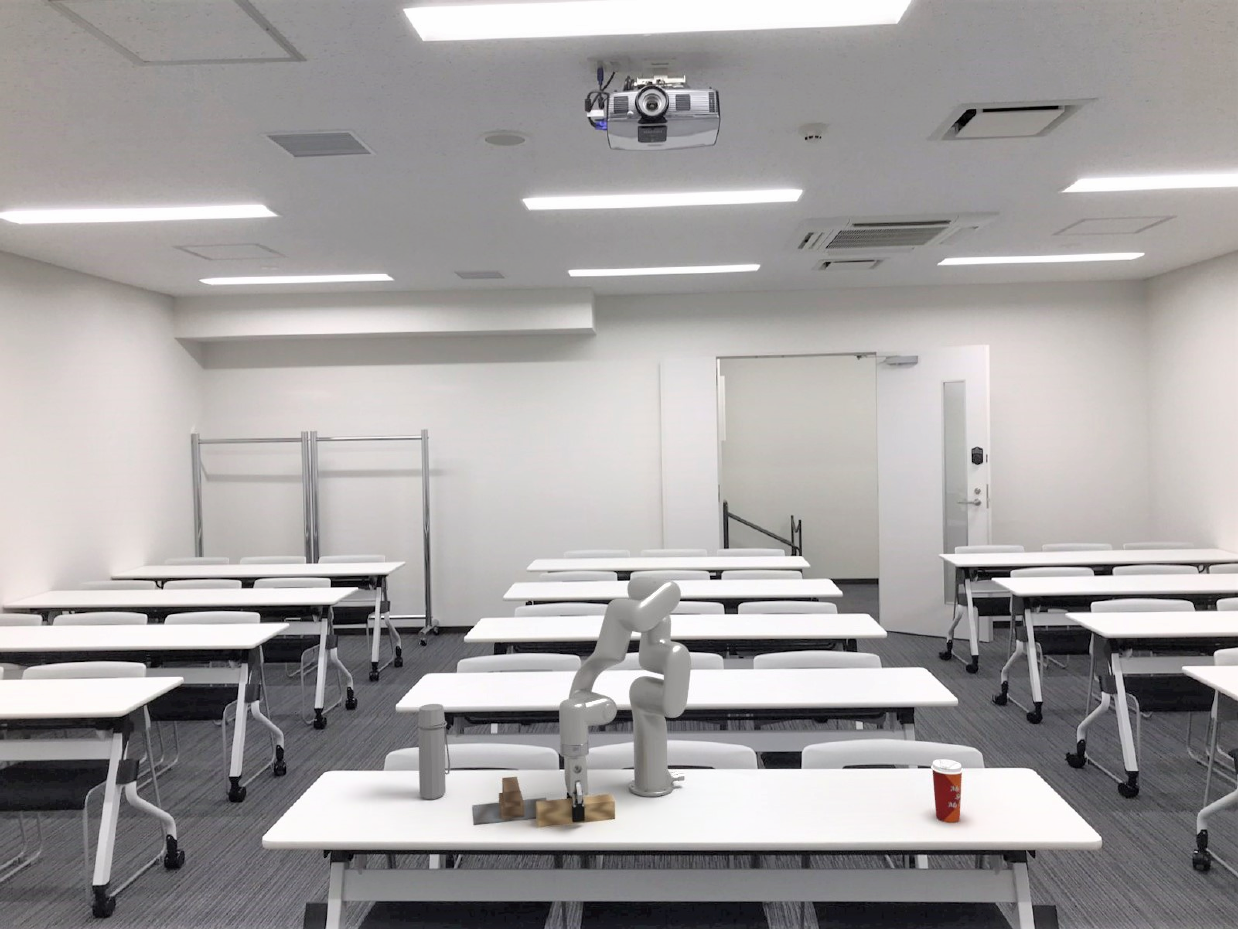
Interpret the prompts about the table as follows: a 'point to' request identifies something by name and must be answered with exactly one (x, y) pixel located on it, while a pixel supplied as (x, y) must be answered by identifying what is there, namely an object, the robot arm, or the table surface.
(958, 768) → the paper cup
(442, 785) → the water bottle
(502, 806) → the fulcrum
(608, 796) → the oak bar
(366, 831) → the table surface
